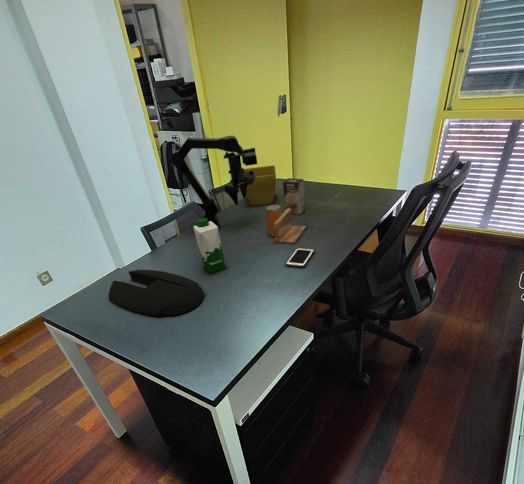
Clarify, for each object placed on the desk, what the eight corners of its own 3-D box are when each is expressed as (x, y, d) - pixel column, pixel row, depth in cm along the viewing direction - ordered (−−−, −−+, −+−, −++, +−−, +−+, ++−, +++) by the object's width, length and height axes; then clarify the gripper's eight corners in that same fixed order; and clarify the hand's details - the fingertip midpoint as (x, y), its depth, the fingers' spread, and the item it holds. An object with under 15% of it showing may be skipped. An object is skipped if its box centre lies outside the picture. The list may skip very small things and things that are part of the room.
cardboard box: (278, 205, 188) (275, 173, 177) (245, 209, 189) (240, 178, 179) (277, 194, 202) (275, 165, 192) (247, 198, 204) (242, 168, 193)
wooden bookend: (275, 242, 151) (274, 223, 145) (288, 226, 163) (287, 208, 157) (294, 243, 148) (293, 224, 142) (306, 227, 160) (305, 208, 154)
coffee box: (284, 213, 178) (282, 181, 167) (289, 208, 182) (288, 177, 171) (299, 214, 173) (298, 182, 163) (304, 210, 177) (304, 178, 167)
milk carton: (220, 260, 143) (210, 215, 130) (228, 268, 137) (219, 221, 124) (201, 267, 141) (189, 221, 128) (209, 275, 134) (197, 228, 121)
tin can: (267, 236, 157) (264, 210, 149) (270, 231, 161) (267, 205, 153) (281, 236, 155) (279, 209, 147) (283, 230, 160) (281, 204, 152)
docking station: (174, 326, 110) (169, 314, 107) (99, 300, 129) (94, 289, 126) (219, 289, 125) (216, 277, 122) (146, 270, 144) (142, 260, 141)
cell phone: (285, 266, 133) (285, 264, 132) (297, 249, 143) (297, 247, 142) (303, 268, 130) (303, 266, 129) (314, 251, 140) (314, 249, 139)
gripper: (242, 173, 145) (247, 208, 155) (259, 161, 157) (262, 195, 167) (220, 173, 149) (226, 208, 159) (238, 162, 161) (243, 194, 171)
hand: (240, 201), depth 164 cm, fingers open, 9 cm apart
